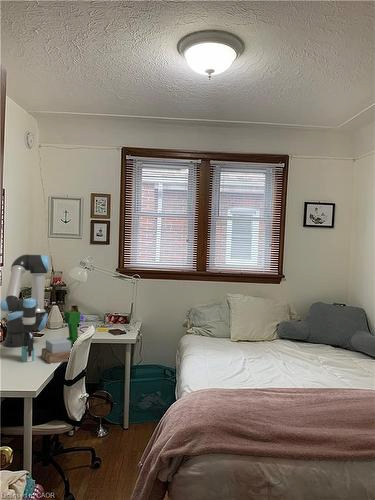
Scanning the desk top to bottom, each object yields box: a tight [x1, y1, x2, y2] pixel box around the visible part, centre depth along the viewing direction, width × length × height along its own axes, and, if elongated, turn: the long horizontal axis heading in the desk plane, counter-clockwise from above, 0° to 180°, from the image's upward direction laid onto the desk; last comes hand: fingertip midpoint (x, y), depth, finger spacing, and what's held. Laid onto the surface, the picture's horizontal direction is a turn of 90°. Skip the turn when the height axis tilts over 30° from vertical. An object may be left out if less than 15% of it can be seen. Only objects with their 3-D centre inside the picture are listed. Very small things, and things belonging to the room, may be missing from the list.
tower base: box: [41, 347, 71, 365], centre depth 249 cm, size 16×16×6 cm
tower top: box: [45, 337, 72, 354], centre depth 249 cm, size 12×12×6 cm
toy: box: [64, 304, 81, 349], centre depth 275 cm, size 10×14×30 cm
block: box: [21, 346, 35, 363], centre depth 244 cm, size 6×6×8 cm
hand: (27, 359), depth 244 cm, fingers open, 7 cm apart
